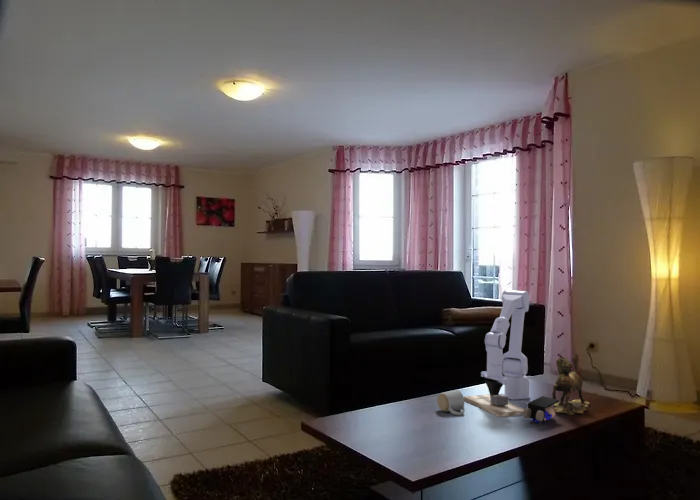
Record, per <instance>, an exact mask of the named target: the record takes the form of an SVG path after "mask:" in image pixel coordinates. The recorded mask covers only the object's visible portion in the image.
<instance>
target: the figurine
mask: <svg viewBox="0 0 700 500" xmlns="http://www.w3.org/2000/svg"><path fill="white" fill-rule="evenodd" d="M579 356H580V355H578V353H576V352H575V353H574V355H573V356H572V362H573V363H572V362H571V361H570V360H569V359H568V357H565V358H562V357H559V358H556V361H555V362H556V367H557V371H558V376H557V379H556V381H555V383H554V385H553V389H552V394H551V395H552V399H556V400H557V396H556V393H557V392H562V394H561V396H560V400H559V402H558V403H556V404H554V405H552V407H553V408H554V409H555V414H556V415H557V414H558V415H562V416H572V415H580V416H583V415H584V414H585V412H586V411H587V408H588V407H589V406H590V405H591V403H590V402H589V401H586V400H585V399H586V398H585V397H584V396H583V392H582V391H583V380H582V376H580V375H579V374H578V368H579V361H580V358H579ZM573 367H574V368H573ZM572 368H573V371H572ZM576 391H578V396H579V399H573V400H571V401H569V399H570V396H571V394H572V392H576Z"/></svg>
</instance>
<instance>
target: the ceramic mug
mask: <svg viewBox="0 0 700 500" xmlns="http://www.w3.org/2000/svg"><path fill="white" fill-rule="evenodd" d="M436 401H437V406H438V408H439V410H440V411H442V412H445V413H449V412H450V413H451V414H452V415H454V416H462V415H465V412H466V411H465V404H466V401H465V400H464V396H463V394H462V392H461V391H460V390H458V389H454V390H449V391H445V392H444V391H443V392H441V393H439V394H438V396H437V399H436Z"/></svg>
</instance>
